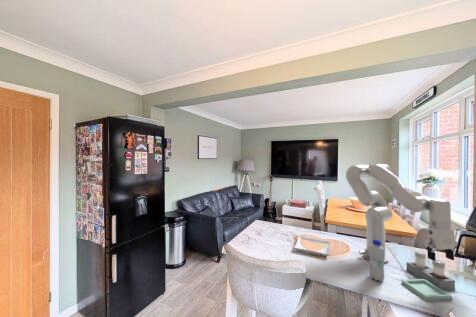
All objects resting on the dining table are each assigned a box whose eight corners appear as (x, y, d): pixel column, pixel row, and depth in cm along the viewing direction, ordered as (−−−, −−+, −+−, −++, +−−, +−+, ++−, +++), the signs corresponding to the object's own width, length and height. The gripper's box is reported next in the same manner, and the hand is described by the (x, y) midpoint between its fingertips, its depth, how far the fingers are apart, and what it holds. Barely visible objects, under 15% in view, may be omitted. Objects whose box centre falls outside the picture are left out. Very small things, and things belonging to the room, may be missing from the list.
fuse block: (454, 288, 92) (455, 280, 92) (439, 289, 92) (439, 281, 92) (419, 269, 109) (420, 261, 109) (406, 269, 108) (406, 262, 108)
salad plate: (298, 240, 146) (298, 235, 146) (329, 246, 137) (329, 241, 137) (293, 252, 127) (294, 247, 127) (329, 260, 118) (329, 254, 118)
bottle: (365, 275, 103) (365, 237, 103) (377, 274, 103) (377, 237, 103) (375, 283, 96) (375, 243, 96) (388, 282, 96) (388, 242, 96)
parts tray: (426, 301, 84) (426, 296, 84) (401, 283, 96) (401, 279, 96) (452, 299, 85) (452, 295, 85) (424, 282, 97) (424, 278, 97)
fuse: (420, 275, 103) (420, 255, 103) (412, 271, 107) (412, 251, 107) (428, 275, 103) (428, 255, 103) (419, 270, 107) (420, 251, 107)
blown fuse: (439, 287, 94) (439, 264, 94) (429, 281, 98) (429, 259, 98) (447, 286, 94) (447, 264, 94) (437, 281, 98) (437, 259, 98)
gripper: (431, 227, 91) (432, 263, 91) (465, 226, 93) (466, 262, 92) (416, 222, 99) (416, 256, 98) (447, 221, 100) (448, 255, 100)
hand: (440, 259), depth 95 cm, fingers open, 9 cm apart
